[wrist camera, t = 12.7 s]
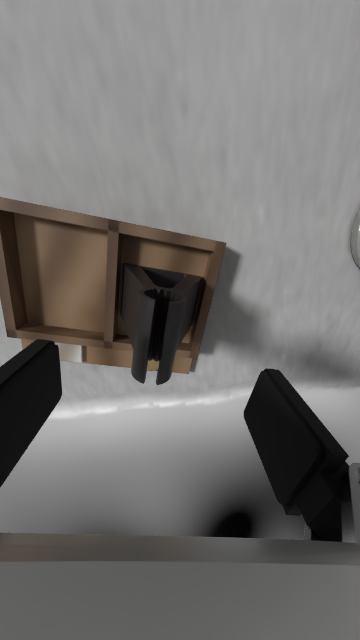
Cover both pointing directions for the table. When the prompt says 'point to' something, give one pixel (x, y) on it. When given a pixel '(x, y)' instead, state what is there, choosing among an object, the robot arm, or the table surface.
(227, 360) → the table surface
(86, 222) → the bay board
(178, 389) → the table surface
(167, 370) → the phone stand
